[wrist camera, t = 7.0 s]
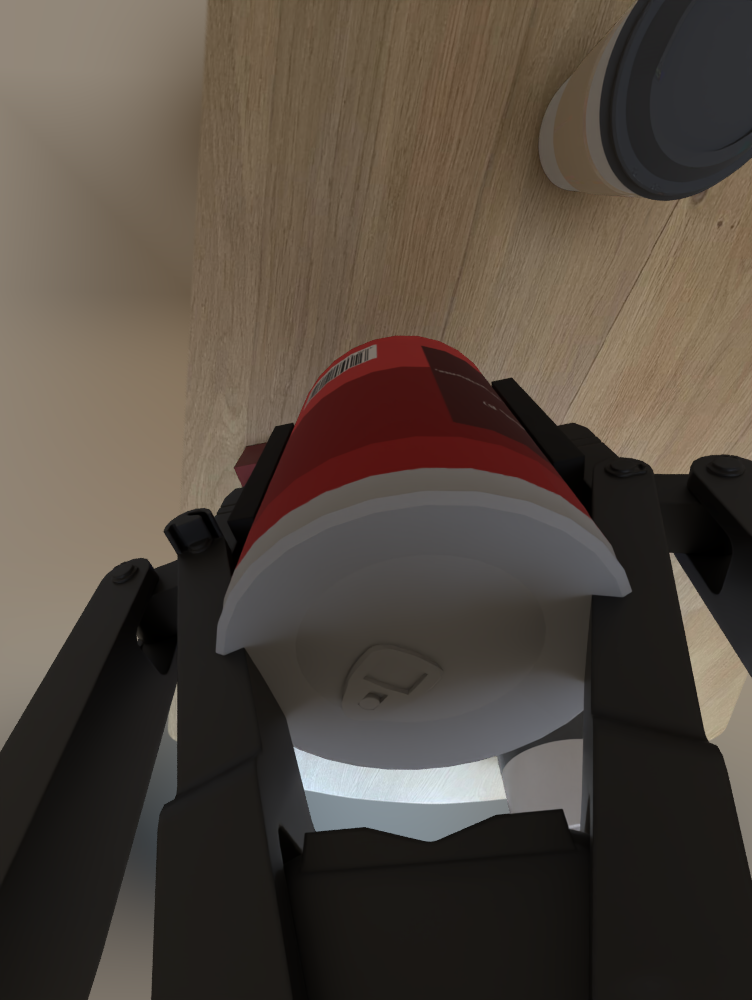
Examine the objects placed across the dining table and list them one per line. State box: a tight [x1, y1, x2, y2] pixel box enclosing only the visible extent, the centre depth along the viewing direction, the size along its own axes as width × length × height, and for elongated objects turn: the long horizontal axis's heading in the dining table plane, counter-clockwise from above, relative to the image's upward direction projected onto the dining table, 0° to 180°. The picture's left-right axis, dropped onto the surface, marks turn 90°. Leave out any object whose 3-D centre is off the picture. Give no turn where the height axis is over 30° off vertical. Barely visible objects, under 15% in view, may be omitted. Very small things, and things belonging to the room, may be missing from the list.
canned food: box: [216, 336, 632, 770], centre depth 12 cm, size 8×8×11 cm
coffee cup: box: [539, 0, 752, 201], centre depth 24 cm, size 9×9×15 cm
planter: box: [497, 710, 584, 831], centre depth 65 cm, size 19×19×18 cm
